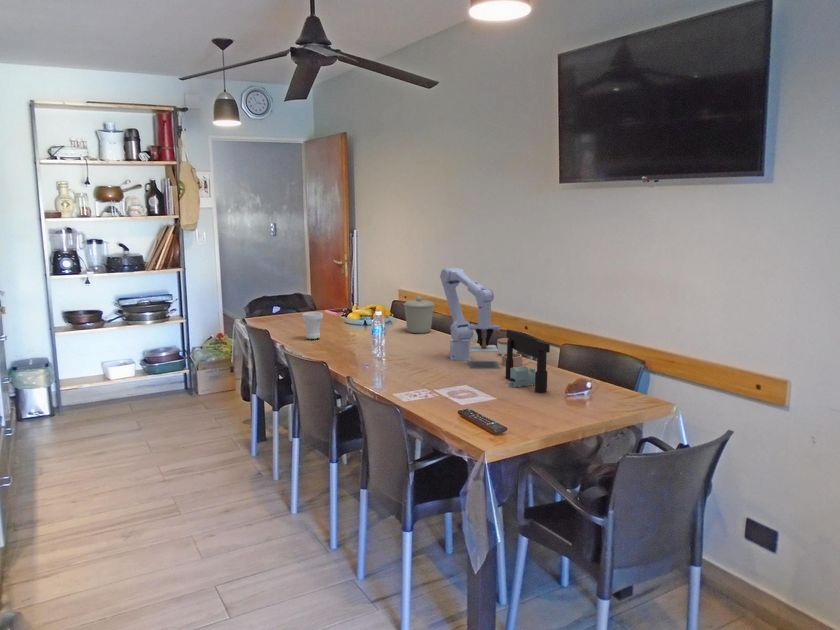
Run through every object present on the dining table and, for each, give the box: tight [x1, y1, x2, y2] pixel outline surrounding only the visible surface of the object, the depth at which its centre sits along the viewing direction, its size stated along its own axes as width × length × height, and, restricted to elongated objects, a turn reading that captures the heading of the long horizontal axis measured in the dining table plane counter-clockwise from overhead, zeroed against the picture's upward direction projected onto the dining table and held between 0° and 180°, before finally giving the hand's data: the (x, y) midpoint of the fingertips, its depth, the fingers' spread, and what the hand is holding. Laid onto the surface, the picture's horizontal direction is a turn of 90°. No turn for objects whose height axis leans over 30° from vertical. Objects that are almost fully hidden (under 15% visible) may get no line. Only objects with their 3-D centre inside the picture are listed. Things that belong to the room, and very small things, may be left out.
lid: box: [470, 337, 499, 353], centre depth 300 cm, size 12×12×5 cm
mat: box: [466, 360, 501, 370], centre depth 302 cm, size 14×14×1 cm
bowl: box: [500, 353, 523, 368], centre depth 303 cm, size 9×9×4 cm
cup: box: [301, 311, 324, 340], centre depth 359 cm, size 11×11×14 cm
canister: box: [403, 295, 436, 334], centre depth 379 cm, size 18×18×21 cm
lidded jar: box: [496, 337, 519, 355], centre depth 321 cm, size 11×11×9 cm
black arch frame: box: [505, 328, 551, 393], centre depth 269 cm, size 16×21×33 cm
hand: (483, 345), depth 301 cm, fingers closed on lid, 2 cm apart
